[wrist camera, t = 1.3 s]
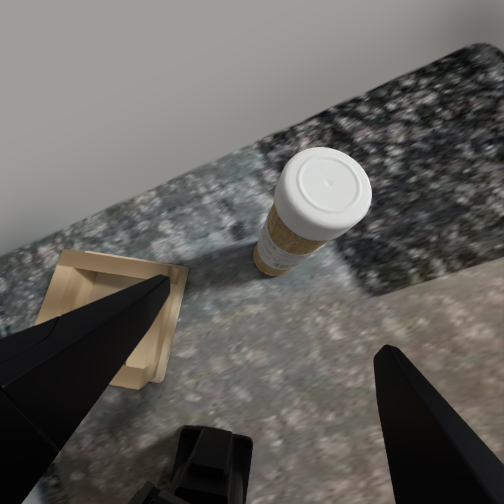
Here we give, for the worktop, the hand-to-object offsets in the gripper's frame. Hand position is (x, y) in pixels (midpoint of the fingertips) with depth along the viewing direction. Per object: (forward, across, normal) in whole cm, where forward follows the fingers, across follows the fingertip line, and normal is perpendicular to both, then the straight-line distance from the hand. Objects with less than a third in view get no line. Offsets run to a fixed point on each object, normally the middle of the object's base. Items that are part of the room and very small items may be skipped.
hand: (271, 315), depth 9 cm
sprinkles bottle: (+13, 0, +6) cm, 15 cm away
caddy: (+6, +13, +13) cm, 19 cm away
